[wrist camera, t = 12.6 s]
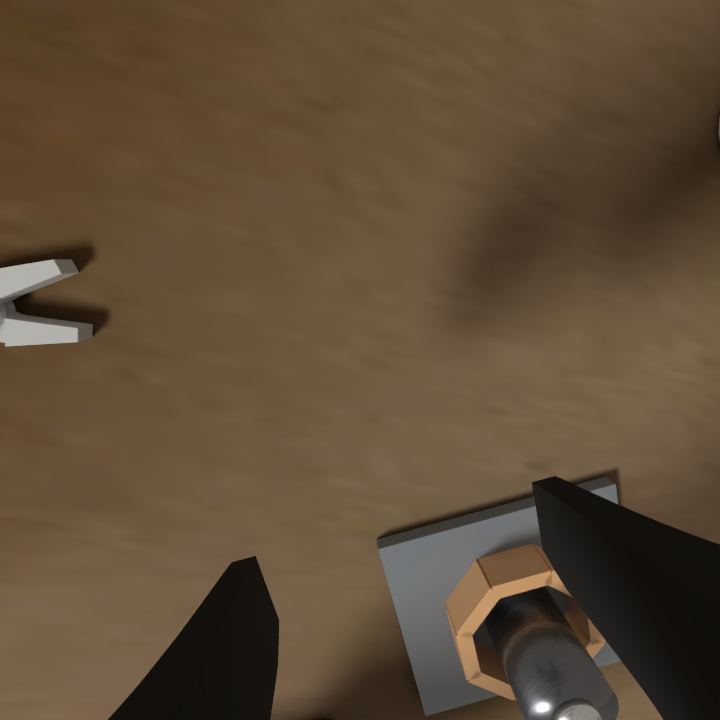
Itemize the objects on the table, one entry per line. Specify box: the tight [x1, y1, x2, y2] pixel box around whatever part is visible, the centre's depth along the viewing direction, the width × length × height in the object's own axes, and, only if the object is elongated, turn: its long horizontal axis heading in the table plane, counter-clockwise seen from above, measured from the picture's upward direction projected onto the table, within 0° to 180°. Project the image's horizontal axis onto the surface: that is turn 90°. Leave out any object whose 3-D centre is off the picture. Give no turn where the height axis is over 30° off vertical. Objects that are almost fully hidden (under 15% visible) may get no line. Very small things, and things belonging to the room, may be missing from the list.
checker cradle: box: [377, 477, 621, 716], centre depth 23 cm, size 13×12×3 cm
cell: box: [483, 586, 619, 720], centre depth 20 cm, size 4×4×6 cm
